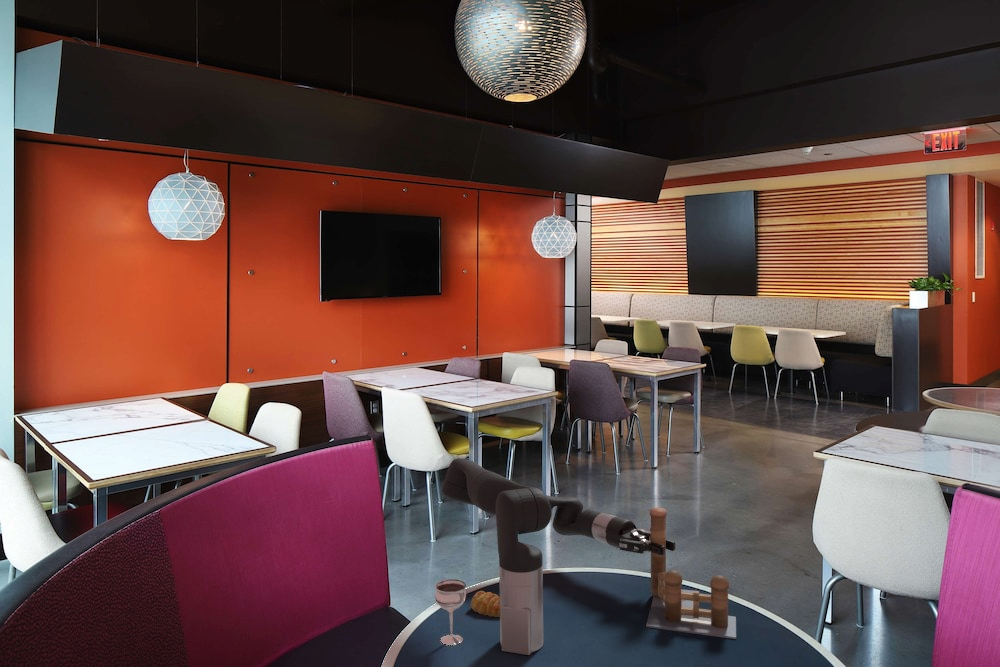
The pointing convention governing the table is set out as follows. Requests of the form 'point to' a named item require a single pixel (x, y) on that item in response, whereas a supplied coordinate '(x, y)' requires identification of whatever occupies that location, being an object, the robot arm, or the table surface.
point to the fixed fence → (696, 600)
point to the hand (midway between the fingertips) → (668, 548)
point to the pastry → (486, 603)
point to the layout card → (688, 621)
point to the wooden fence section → (658, 560)
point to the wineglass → (450, 604)
